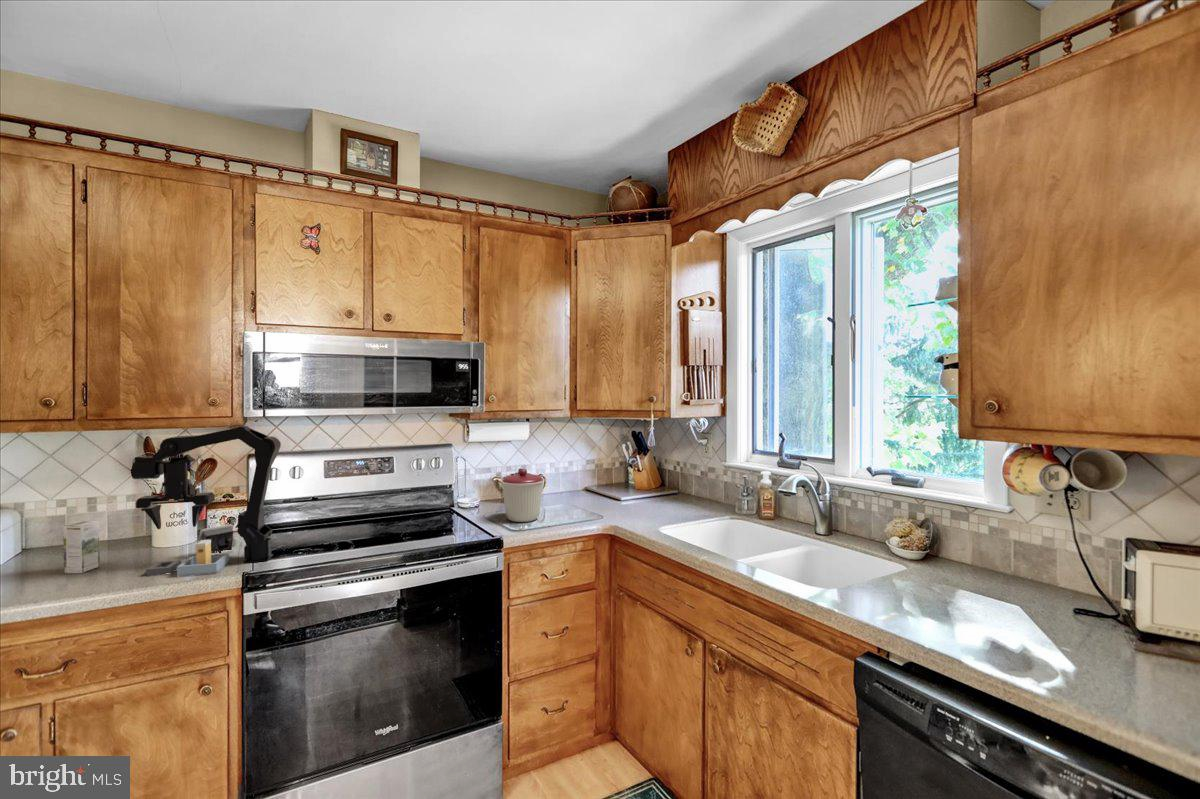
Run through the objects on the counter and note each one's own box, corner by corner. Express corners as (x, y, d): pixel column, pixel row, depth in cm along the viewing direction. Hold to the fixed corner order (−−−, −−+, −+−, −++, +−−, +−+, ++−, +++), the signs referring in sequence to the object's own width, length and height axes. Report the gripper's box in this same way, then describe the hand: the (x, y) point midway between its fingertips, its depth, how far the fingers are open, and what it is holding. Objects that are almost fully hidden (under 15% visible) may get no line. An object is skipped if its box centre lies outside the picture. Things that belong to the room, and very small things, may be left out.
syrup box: (82, 567, 167) (80, 520, 167) (100, 567, 167) (99, 520, 167) (63, 573, 161) (61, 525, 161) (82, 573, 161) (81, 525, 161)
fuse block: (181, 566, 168) (180, 560, 168) (170, 574, 161) (170, 567, 161) (157, 568, 166) (157, 561, 166) (146, 576, 159) (146, 569, 159)
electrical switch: (230, 548, 186) (230, 522, 185) (236, 553, 182) (236, 526, 182) (197, 555, 178) (197, 528, 178) (202, 560, 175) (202, 532, 174)
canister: (492, 518, 226) (492, 468, 225) (528, 511, 238) (528, 464, 237) (516, 527, 212) (516, 474, 212) (553, 519, 224) (553, 468, 224)
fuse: (211, 565, 167) (211, 539, 167) (206, 569, 163) (205, 543, 163) (202, 565, 166) (201, 540, 166) (196, 570, 162) (195, 543, 162)
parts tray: (229, 562, 171) (228, 553, 171) (216, 573, 161) (216, 563, 161) (191, 565, 168) (191, 556, 168) (177, 577, 159) (176, 566, 158)
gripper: (220, 471, 177) (221, 519, 178) (152, 474, 172) (153, 523, 173) (207, 477, 167) (208, 527, 167) (133, 480, 161) (135, 532, 162)
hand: (177, 527), depth 168 cm, fingers open, 9 cm apart
